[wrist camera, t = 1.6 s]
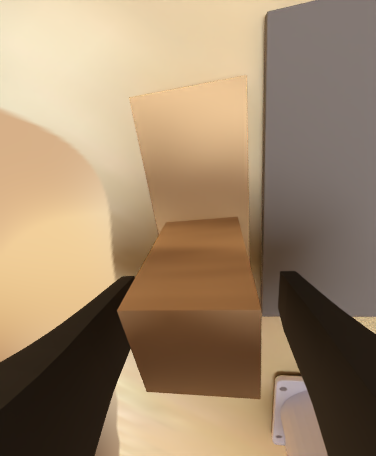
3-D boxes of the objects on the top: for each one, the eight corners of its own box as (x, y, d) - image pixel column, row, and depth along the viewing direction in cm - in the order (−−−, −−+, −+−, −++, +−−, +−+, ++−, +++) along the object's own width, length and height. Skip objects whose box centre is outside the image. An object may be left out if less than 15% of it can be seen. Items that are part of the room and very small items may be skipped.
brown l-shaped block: (246, 267, 12) (278, 406, 6) (173, 270, 13) (133, 396, 7) (242, 82, 8) (312, -50, 2) (139, 101, 9) (-14, 41, 3)
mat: (430, 310, 11) (437, 316, 11) (261, 311, 13) (262, 316, 13) (600, -60, 6) (626, -73, 5) (264, 17, 7) (267, 11, 7)
